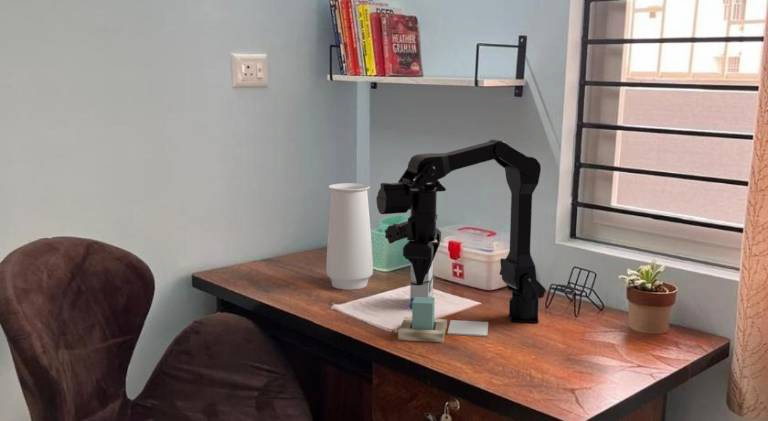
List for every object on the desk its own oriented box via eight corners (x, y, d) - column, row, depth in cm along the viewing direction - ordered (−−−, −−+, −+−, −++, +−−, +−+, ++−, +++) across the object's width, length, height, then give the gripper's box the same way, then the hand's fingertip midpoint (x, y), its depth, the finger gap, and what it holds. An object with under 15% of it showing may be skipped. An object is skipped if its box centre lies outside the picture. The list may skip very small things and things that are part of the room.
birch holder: (446, 327, 176) (447, 319, 176) (442, 342, 167) (443, 333, 166) (404, 325, 178) (404, 317, 178) (398, 339, 168) (398, 331, 168)
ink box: (428, 309, 189) (429, 264, 187) (409, 308, 190) (409, 263, 188) (433, 300, 198) (434, 256, 196) (414, 298, 199) (415, 255, 197)
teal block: (433, 331, 174) (434, 297, 173) (431, 337, 170) (432, 303, 168) (414, 329, 175) (415, 296, 173) (412, 336, 170) (412, 302, 169)
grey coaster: (488, 323, 179) (488, 322, 179) (487, 336, 170) (487, 335, 170) (450, 321, 181) (450, 320, 180) (447, 334, 172) (447, 332, 172)
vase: (368, 292, 204) (368, 190, 199) (321, 290, 206) (320, 189, 201) (376, 279, 217) (376, 183, 211) (332, 277, 219) (331, 182, 213)
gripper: (395, 203, 179) (394, 267, 181) (379, 217, 161) (379, 288, 163) (442, 204, 177) (440, 269, 179) (431, 220, 158) (430, 291, 161)
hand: (422, 279), depth 171 cm, fingers open, 9 cm apart
